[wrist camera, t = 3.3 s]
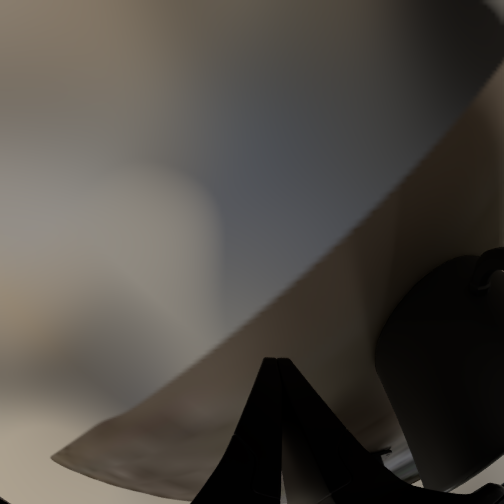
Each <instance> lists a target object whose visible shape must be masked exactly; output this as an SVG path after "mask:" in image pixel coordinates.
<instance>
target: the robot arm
mask: <svg viewBox="0 0 504 504" xmlns="http://www.w3.org/2000/svg"><path fill="white" fill-rule="evenodd" d="M391 454H392V451H391V450H388V451H384V452H380V453H376V454H372V455H371V454H370V453H369V452H368V451H367V450H366V449H365V448H364V447H363V446H362V445H361V444H360V443H359V442H358V441H357V440H356V439H355V438H354V436H353V435H352V434H351V433H350V432H349V431H348V430H347V429H346V427H345V426H344V425H343V424H342V422H341V421H340V420H339V419H338V418H337V416H336V415H335V414H334V413H333V412H332V410H331V409H330V408H329V407H328V406H327V404H326V403H325V402H324V401H323V400H322V398H321V397H320V396H319V395H318V393H317V392H316V391H315V390H314V389H313V387H312V386H311V385H310V384H309V382H308V381H307V380H306V379H305V377H304V376H303V375H302V374H301V372H300V371H299V370H298V369H297V367H296V366H295V365H294V364H293V362H292V361H291V360H290V359H289V358H277V359H276V358H271V357H265V358H264V359H263V361H262V364H261V367H260V369H259V372H258V374H257V377H256V380H255V382H254V385H253V387H252V390H251V392H250V395H249V397H248V400H247V402H246V405H245V407H244V410H243V412H242V415H241V417H240V420H239V422H238V424H237V427H236V429H235V431H234V435H233V436H232V438H231V440H230V443H229V445H228V447H227V449H226V451H225V453H224V455H223V457H222V459H221V460H220V462H219V464H218V465H217V467H216V469H215V470H214V472H213V473H212V475H211V476H210V477H209V479H208V480H207V482H206V483H205V485H204V486H203V487H202V489H201V490H200V491H199V493H198V494H197V496H196V497H195V498H194V500H193V501H192V502H191V503H190V504H280V499H281V471H282V475H283V481H284V487H285V493H286V498H287V504H504V483H503V484H501V485H498V484H494V483H487V484H486V485H484V486H482V487H481V488H479V489H478V490H476V491H474V492H473V493H471V494H455V493H448V492H442V491H436V490H431V489H426V488H421V487H417V486H413V485H411V484H408V483H406V482H404V481H403V480H401V479H400V478H398V477H397V476H396V475H394V474H393V473H392V472H391V471H390V470H388V469H387V468H386V467H385V466H384V463H383V461H384V460H385V459H386V458H387V457H389V456H390V455H391ZM0 504H10V503H9V502H7V501H6V500H4V499H3V498H1V497H0Z"/></svg>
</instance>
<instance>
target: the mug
mask: <svg viewBox="0 0 504 504" xmlns="http://www.w3.org/2000/svg"><path fill="white" fill-rule="evenodd" d="M501 270H503V271H504V247H499V248H495V249H491V250H488V251H486V252H484V253H483V254H482V255H481V257H479V256H462V257H458V258H455V259H452V260H450V261H448V262H446V263H444V264H442V265H441V266H439V267H437V268H436V269H435V270H433V271H432V272H431V273H429V274H428V275H427V276H425V277H424V278H423V279H422V280H421V281H420V282H419V283H418V284H417V285H416V286H415V287H414V288H413V289H412V290H411V291H410V292H409V293H408V294H407V295H406V296H405V297H404V298H403V300H402V301H401V302H400V304H399V305H398V306H397V307H396V309H395V310H394V312H393V313H392V315H391V316H390V318H389V319H388V321H387V323H386V325H385V327H384V329H383V331H382V333H381V335H380V338H379V341H378V344H377V348H376V357H375V367H376V371H377V374H378V376H379V378H380V380H381V382H382V384H383V387H384V389H385V391H386V393H387V396H388V398H389V400H390V402H391V405H392V407H393V409H394V412H395V414H396V416H397V419H398V421H399V423H400V426H401V428H402V431H403V433H404V436H405V438H406V441H407V443H408V446H409V448H410V451H411V453H412V456H413V459H414V461H415V464H416V467H417V470H418V472H419V475H420V478H421V481H422V483H423V486H424V488H426V489H431V490H436V491H442V492H450V491H452V490H453V489H455V488H457V487H458V486H460V485H462V484H464V483H465V482H467V481H468V480H470V479H471V478H473V477H474V476H476V475H477V474H479V473H480V472H482V471H483V470H484V469H486V468H487V467H489V466H490V465H491V464H492V463H494V462H495V461H496V460H498V459H499V458H500V457H501V456H502V455H504V272H502V271H501Z"/></svg>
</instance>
